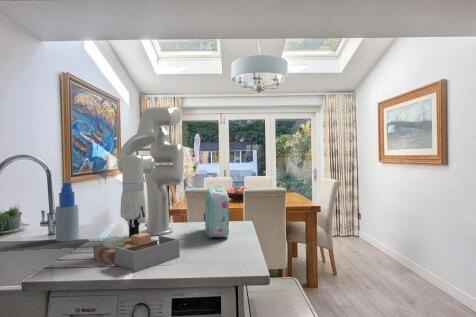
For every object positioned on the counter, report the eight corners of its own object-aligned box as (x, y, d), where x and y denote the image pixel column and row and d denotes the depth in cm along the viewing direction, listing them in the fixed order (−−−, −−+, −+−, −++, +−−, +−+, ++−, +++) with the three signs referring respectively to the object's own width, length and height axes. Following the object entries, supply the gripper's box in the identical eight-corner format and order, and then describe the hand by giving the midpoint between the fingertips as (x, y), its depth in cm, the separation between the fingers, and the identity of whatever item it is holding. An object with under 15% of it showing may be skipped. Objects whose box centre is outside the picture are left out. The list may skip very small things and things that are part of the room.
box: (114, 265, 99) (113, 246, 99) (159, 251, 114) (159, 235, 114) (134, 272, 93) (133, 252, 93) (179, 256, 107) (179, 239, 107)
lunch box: (203, 228, 153) (202, 184, 153) (224, 226, 154) (223, 184, 155) (206, 241, 126) (205, 189, 127) (231, 240, 128) (230, 188, 128)
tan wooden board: (93, 258, 107) (93, 246, 107) (138, 246, 122) (138, 236, 122) (112, 264, 100) (112, 252, 100) (157, 251, 114) (157, 240, 114)
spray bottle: (59, 242, 130) (58, 183, 131) (53, 239, 137) (52, 182, 137) (81, 238, 137) (80, 182, 137) (75, 235, 143) (74, 181, 143)
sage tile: (102, 246, 107) (102, 239, 107) (115, 243, 111) (115, 236, 111) (110, 248, 104) (110, 241, 104) (123, 245, 108) (123, 238, 108)
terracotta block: (131, 242, 112) (130, 235, 112) (142, 239, 116) (142, 232, 116) (139, 244, 109) (139, 237, 109) (151, 241, 113) (150, 234, 113)
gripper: (113, 188, 117) (114, 236, 117) (136, 189, 108) (137, 242, 108) (130, 186, 123) (131, 232, 123) (153, 187, 114) (154, 237, 114)
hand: (134, 236), depth 115 cm, fingers closed
